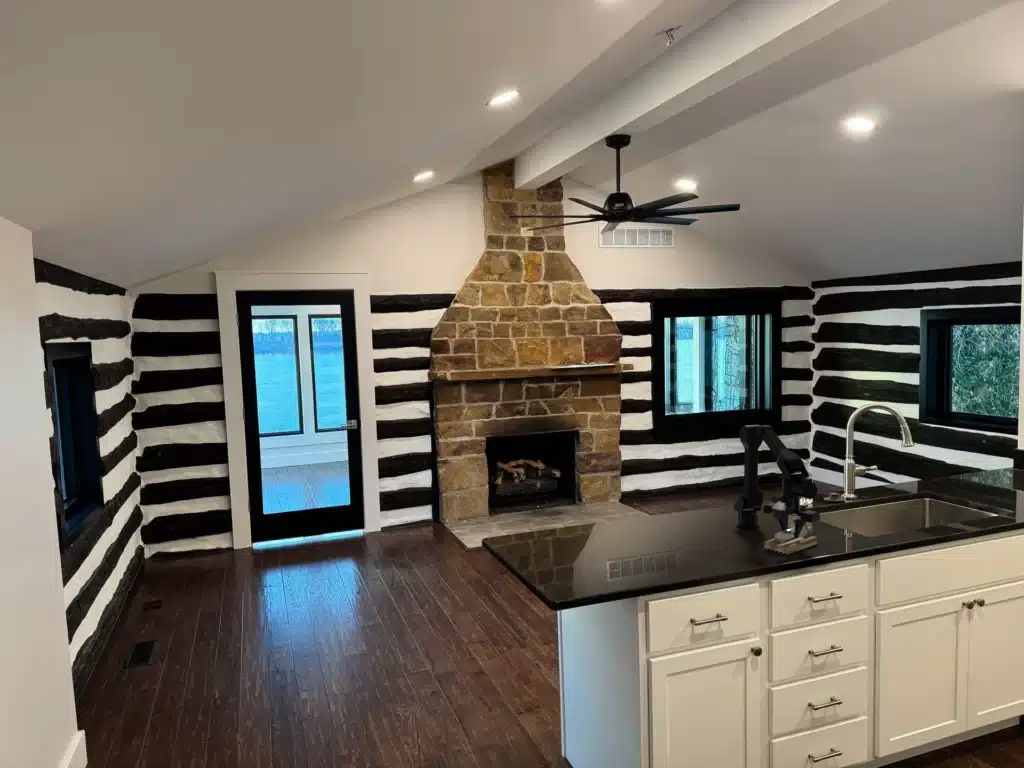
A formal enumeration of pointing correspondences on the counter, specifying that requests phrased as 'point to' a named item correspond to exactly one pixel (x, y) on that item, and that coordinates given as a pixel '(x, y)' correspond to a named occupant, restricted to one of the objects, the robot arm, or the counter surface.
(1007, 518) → the counter surface
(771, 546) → the cradle
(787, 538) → the axle
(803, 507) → the hand tool
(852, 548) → the counter surface
